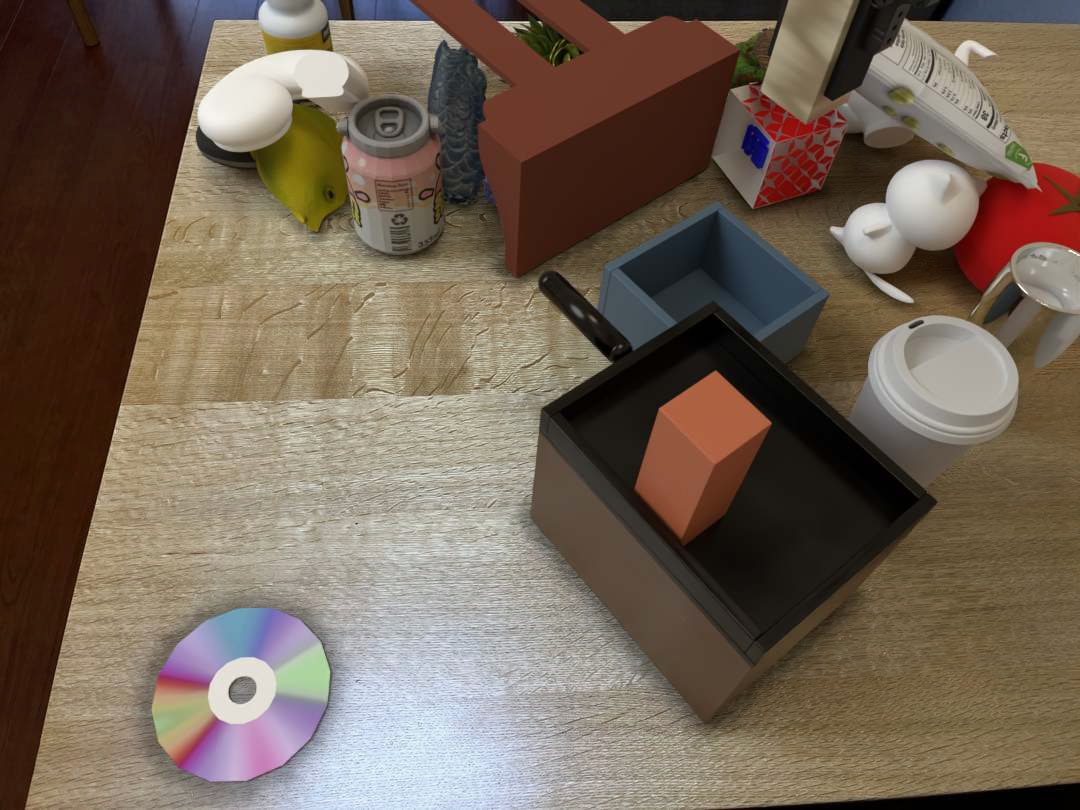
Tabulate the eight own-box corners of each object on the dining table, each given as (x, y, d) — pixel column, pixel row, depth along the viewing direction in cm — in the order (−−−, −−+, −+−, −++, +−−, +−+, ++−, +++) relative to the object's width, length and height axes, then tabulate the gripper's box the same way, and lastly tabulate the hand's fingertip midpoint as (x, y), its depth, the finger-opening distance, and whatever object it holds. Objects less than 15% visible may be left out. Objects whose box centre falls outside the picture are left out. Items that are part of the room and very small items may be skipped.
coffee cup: (904, 421, 71) (994, 300, 59) (950, 527, 66) (1059, 420, 54) (792, 431, 70) (859, 310, 58) (829, 540, 65) (912, 433, 52)
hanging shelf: (708, 167, 86) (519, 17, 98) (740, 49, 75) (523, -103, 87) (516, 278, 77) (333, 98, 89) (521, 162, 66) (312, -25, 78)
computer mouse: (252, 75, 86) (257, 112, 89) (176, 134, 78) (184, 172, 81) (316, 96, 85) (318, 132, 88) (245, 158, 77) (251, 196, 80)
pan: (850, 595, 63) (939, 501, 50) (704, 724, 57) (765, 653, 45) (601, 347, 74) (625, 220, 62) (459, 434, 68) (454, 314, 56)
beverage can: (354, 188, 82) (336, 78, 72) (444, 186, 83) (439, 76, 73) (352, 262, 77) (333, 154, 67) (448, 258, 78) (443, 151, 68)
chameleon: (924, -11, 91) (780, 6, 100) (818, 30, 70) (648, 47, 79) (922, 58, 93) (781, 69, 103) (819, 117, 73) (655, 123, 82)
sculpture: (228, 82, 81) (193, -1, 75) (387, 70, 79) (365, -16, 73) (194, 166, 74) (152, 82, 67) (369, 154, 72) (342, 67, 66)
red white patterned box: (821, 189, 86) (849, 123, 79) (752, 209, 84) (775, 143, 77) (777, 138, 90) (800, 71, 83) (711, 156, 88) (729, 88, 81)
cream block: (847, 102, 56) (912, -53, 48) (806, 125, 54) (864, -30, 46) (801, 69, 57) (855, -86, 49) (759, 91, 56) (808, -65, 48)
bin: (801, 352, 75) (831, 294, 68) (695, 426, 70) (716, 371, 63) (699, 262, 80) (717, 200, 73) (593, 326, 75) (603, 265, 69)
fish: (284, 228, 76) (385, 218, 82) (226, 68, 77) (328, 70, 84) (274, 243, 78) (373, 232, 84) (218, 87, 80) (318, 87, 86)
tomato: (915, 205, 82) (993, 123, 73) (1025, 221, 86) (1112, 144, 77) (962, 334, 75) (1054, 260, 67) (1079, 345, 79) (1182, 277, 70)
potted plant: (629, 174, 80) (475, 111, 78) (609, 169, 93) (475, 115, 90) (682, 43, 77) (524, -27, 75) (654, 55, 90) (517, -5, 87)
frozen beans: (761, 47, 67) (1014, 223, 70) (811, -24, 64) (1075, 165, 67) (765, -8, 83) (971, 137, 87) (806, -66, 80) (1018, 87, 83)
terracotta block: (725, 514, 51) (772, 422, 43) (676, 552, 50) (715, 464, 42) (679, 466, 53) (715, 369, 45) (630, 501, 52) (658, 408, 43)
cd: (254, 819, 52) (255, 819, 52) (365, 658, 58) (365, 659, 58) (112, 722, 55) (113, 723, 55) (231, 578, 61) (231, 578, 61)
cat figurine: (855, 221, 84) (971, 143, 76) (905, 318, 82) (1030, 249, 73) (807, 217, 79) (925, 133, 70) (858, 322, 76) (988, 247, 68)
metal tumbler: (1016, 394, 73) (1125, 273, 61) (983, 449, 70) (1091, 332, 58) (939, 351, 76) (1030, 224, 63) (904, 401, 72) (992, 279, 60)
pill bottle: (332, 111, 88) (313, 4, 78) (268, 106, 88) (241, -3, 78) (344, 72, 92) (328, -36, 82) (283, 66, 92) (259, -43, 82)
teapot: (1002, 94, 78) (996, -1, 80) (776, 137, 88) (775, 52, 89) (1003, 139, 87) (998, 52, 88) (797, 173, 96) (795, 95, 98)
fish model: (490, 69, 94) (490, 26, 89) (500, 210, 82) (501, 168, 78) (427, 70, 93) (424, 27, 89) (429, 212, 82) (425, 170, 77)
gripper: (778, -489, 37) (675, 21, 56) (1143, -358, 30) (881, 171, 49) (891, -506, 40) (756, -15, 59) (1248, -390, 33) (961, 122, 52)
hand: (813, 69), depth 54 cm, fingers closed on cream block, 4 cm apart
